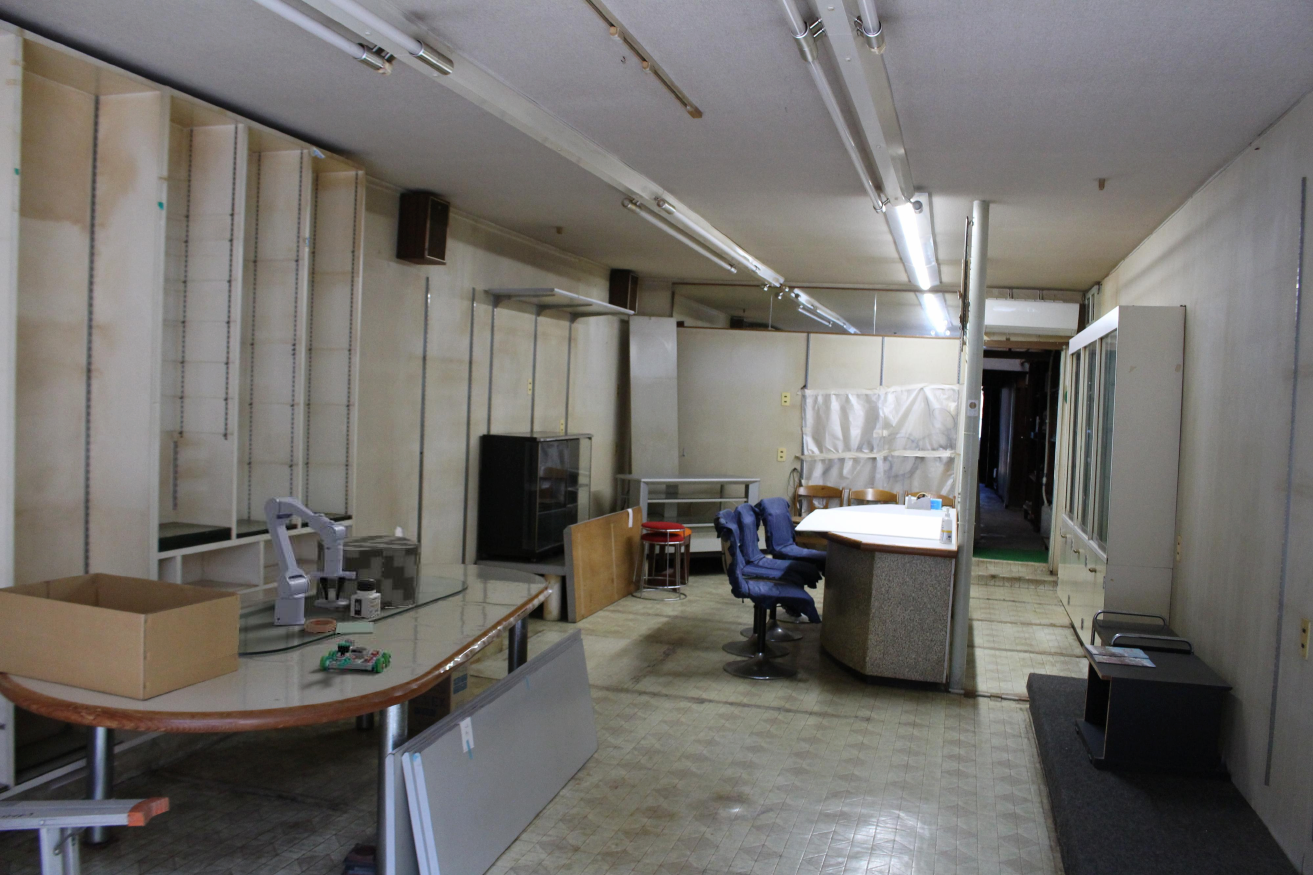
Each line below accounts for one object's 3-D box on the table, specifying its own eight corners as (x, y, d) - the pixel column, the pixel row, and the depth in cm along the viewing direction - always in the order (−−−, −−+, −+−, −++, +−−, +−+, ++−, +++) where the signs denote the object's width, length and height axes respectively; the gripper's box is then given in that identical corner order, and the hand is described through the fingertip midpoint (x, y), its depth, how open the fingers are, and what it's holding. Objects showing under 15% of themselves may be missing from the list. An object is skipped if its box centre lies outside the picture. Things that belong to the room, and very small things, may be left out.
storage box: (425, 606, 349) (427, 547, 348) (332, 613, 329) (335, 551, 329) (396, 589, 378) (398, 534, 377) (309, 595, 358) (311, 537, 358)
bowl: (304, 633, 300) (304, 625, 300) (307, 626, 309) (307, 619, 309) (334, 632, 302) (335, 625, 302) (336, 625, 311) (336, 618, 311)
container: (369, 618, 324) (370, 582, 324) (350, 616, 326) (351, 581, 325) (380, 614, 332) (381, 579, 331) (361, 612, 333) (362, 577, 333)
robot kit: (301, 683, 247) (303, 650, 247) (333, 659, 272) (334, 628, 272) (369, 687, 247) (370, 653, 247) (395, 662, 272) (396, 631, 272)
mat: (335, 634, 300) (335, 632, 300) (337, 624, 314) (337, 622, 314) (372, 633, 304) (372, 631, 304) (373, 623, 317) (373, 622, 317)
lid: (313, 607, 299) (313, 593, 299) (316, 600, 310) (316, 586, 310) (348, 606, 302) (348, 592, 302) (349, 600, 313) (350, 586, 313)
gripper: (309, 561, 300) (308, 602, 300) (355, 561, 304) (353, 601, 304) (311, 558, 307) (310, 597, 307) (356, 558, 311) (354, 597, 311)
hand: (332, 599), depth 306 cm, fingers closed on lid, 3 cm apart
